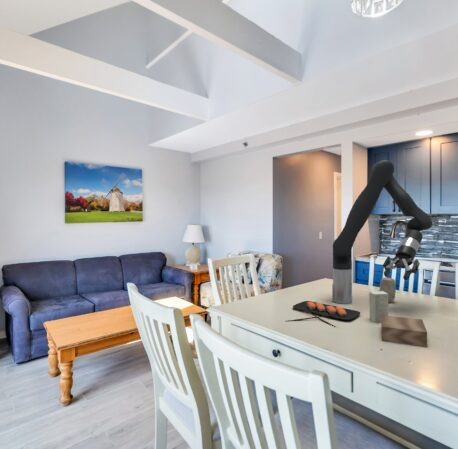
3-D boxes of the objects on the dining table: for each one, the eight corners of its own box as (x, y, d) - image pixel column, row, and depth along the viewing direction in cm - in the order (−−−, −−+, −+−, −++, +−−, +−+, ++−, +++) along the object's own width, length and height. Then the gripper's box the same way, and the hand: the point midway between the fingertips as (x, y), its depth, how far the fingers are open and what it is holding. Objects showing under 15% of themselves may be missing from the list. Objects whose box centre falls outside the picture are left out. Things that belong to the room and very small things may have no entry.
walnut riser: (381, 340, 114) (381, 326, 114) (381, 327, 126) (381, 314, 126) (427, 346, 108) (427, 332, 108) (422, 332, 120) (422, 319, 120)
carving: (395, 304, 157) (395, 280, 156) (378, 302, 160) (378, 278, 160) (396, 300, 162) (396, 277, 162) (379, 299, 166) (379, 276, 165)
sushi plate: (363, 316, 142) (363, 307, 142) (331, 335, 120) (331, 325, 120) (306, 303, 162) (306, 296, 162) (270, 318, 141) (270, 310, 141)
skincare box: (383, 318, 136) (383, 290, 136) (388, 322, 132) (388, 293, 131) (369, 318, 136) (368, 291, 136) (373, 322, 132) (373, 293, 131)
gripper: (389, 243, 150) (376, 270, 144) (421, 245, 139) (408, 274, 133) (395, 253, 154) (382, 280, 148) (427, 256, 142) (414, 285, 136)
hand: (394, 277), depth 140 cm, fingers open, 8 cm apart
